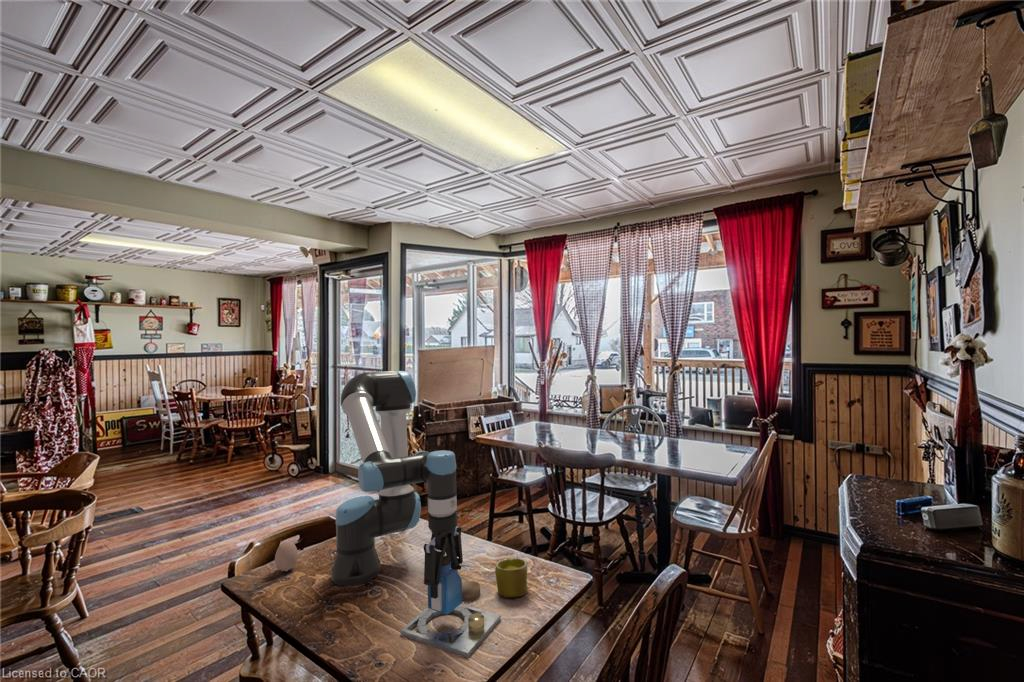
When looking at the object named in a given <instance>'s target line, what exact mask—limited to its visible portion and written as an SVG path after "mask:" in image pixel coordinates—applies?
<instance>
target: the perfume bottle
mask: <svg viewBox="0 0 1024 682" xmlns="http://www.w3.org/2000/svg"><path fill="white" fill-rule="evenodd" d="M439 583H441V590H442V610H441V611H438V610H435V609H432V607H431V596H430V594H431V593H430V586H429V585H427V607H428V608H429V609H432V610H435V611H437V612H440V613H443V614H442V615H444V616H445V615H446V616H448V615H449V613H450V612H451V611H452V610H454V609H455V608H456V607H457V606H459V605H460V604H462V603H463V599H462V583H463V581H462V577H461V576H460V574H459V572H458V573H457V572H456V570H454V569H451V562H450V557H449V556H446V555H444V556H443V560H442V567H441V573H440V580H439Z"/></svg>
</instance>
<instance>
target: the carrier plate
mask: <svg viewBox="0 0 1024 682" xmlns="http://www.w3.org/2000/svg"><path fill="white" fill-rule="evenodd" d="M449 614H453V615H457V616H460V617H461V618H462V619H463V621H464V622H463V623H462V624H461V625H460V626H459V628H456V629H455V630H452V631H451V630H450V631H449V632H435V631H432V630H430V629H429V628H428V627H427V624H428V623H429V622H431V620H432V619H433V618H435V617H438V616H440V615H444V614H443V613H440V612H437V611H435V610H432V609H429V608H428V606H427V607H426V608H425V609H424V610H422V611H421V612H420V613H419V614H418V615H416V616H415V617H414V618H413V619H412V620H410V621H409V623H407V624H406V625H405V626H403V627H402V628H401V629H400V636H402V637H405V638H408V639H411V640H414V641H416V642H420V643H422V644H425V645H428V646H431V647H434V648H436V649H440V650H442V651H444V652H445V651H446V652H448V653H451V654H455V655H457V656H460V657H463V658H466V659H469V658H470V656H471V655H473V653H474V651H476V650H477V648H478V647H479V646H480V644H482V643H483V641H484V640H485V639H486V638H487V637H488V635H489V634H490V633H491V632H492V631H493V630H494V628H495V627H496V626H497V624H499V622H500V621H501V619H502V618H501V617H502V616H501V614H498V613H495V612H491V611H487V610H484V609H481V608H476V607H473V606H469V605H466V604H462V603H461V604H460V605H459V606H457V607H456V608H455V609H454V610H452V611H451V612H450V613H449ZM449 614H448V615H449ZM415 627H416V631H417V632H416V631H413V630H412V629H414V628H415Z"/></svg>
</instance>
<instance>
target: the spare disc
mask: <svg viewBox="0 0 1024 682" xmlns="http://www.w3.org/2000/svg"><path fill="white" fill-rule="evenodd" d="M480 596H481V584H480V583H479V582H478V581H475V580H466V581H464V582H462V600H463V601H464V600H465V601H473V600H475V599H478V598H479V597H480Z"/></svg>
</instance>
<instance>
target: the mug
mask: <svg viewBox="0 0 1024 682" xmlns="http://www.w3.org/2000/svg"><path fill="white" fill-rule="evenodd" d="M495 578H496V579H495V580H496V585H497V591H498V594H499V595H500V596H501V597H504V598H507V599H511V598H512V599H513V598H517V597H521V596H524V595H526V594H527V591H528V564H527V562H526V561H525V560H524V559H523V558H516V556H513V555H512V556H509V557H508V558H506V559H502V560H499V561H497V563H496V564H495Z"/></svg>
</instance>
